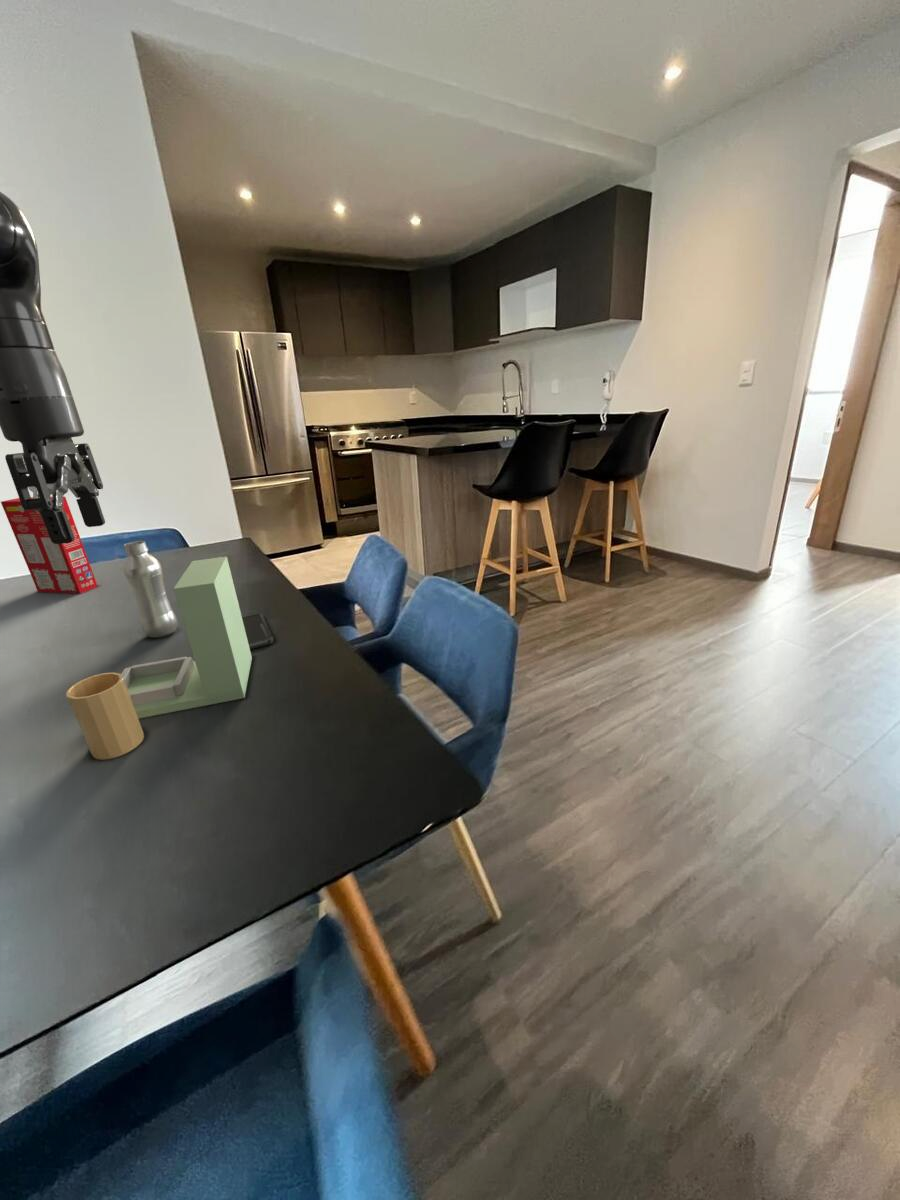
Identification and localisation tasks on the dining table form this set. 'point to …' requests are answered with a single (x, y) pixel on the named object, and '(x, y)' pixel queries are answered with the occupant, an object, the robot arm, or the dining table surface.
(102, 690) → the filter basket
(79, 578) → the food packaging
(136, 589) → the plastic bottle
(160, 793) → the dining table surface
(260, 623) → the phone
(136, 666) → the coffee maker
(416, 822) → the dining table surface
